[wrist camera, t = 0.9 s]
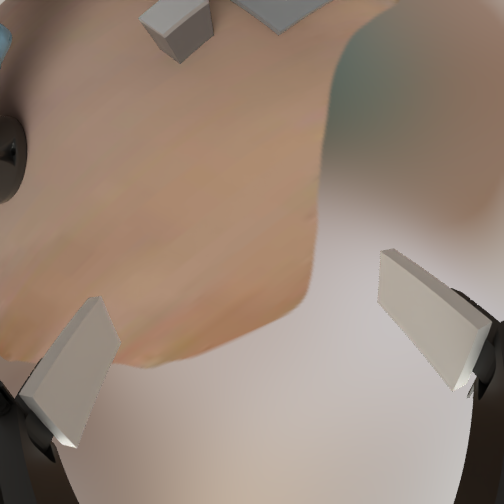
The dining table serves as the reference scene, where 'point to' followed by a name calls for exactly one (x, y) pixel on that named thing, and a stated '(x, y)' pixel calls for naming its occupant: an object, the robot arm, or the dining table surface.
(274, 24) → the socket tray
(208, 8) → the plug block
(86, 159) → the dining table surface
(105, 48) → the dining table surface
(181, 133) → the dining table surface
